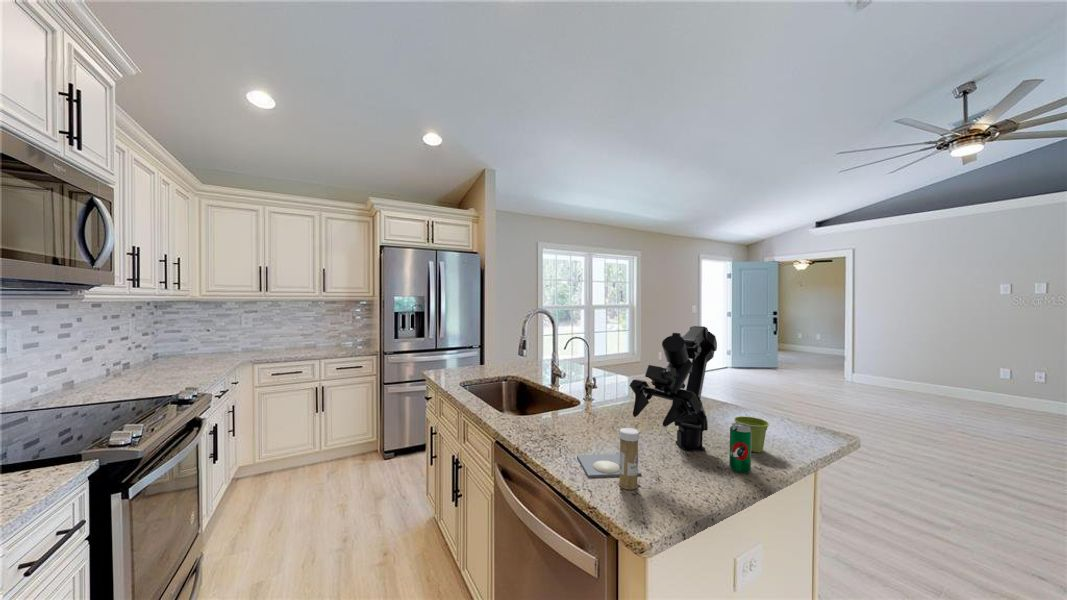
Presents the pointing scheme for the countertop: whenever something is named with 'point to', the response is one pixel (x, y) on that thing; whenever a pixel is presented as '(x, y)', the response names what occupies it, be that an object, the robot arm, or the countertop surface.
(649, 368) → the robot arm
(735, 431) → the soda can
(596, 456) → the board
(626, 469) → the sprinkles bottle
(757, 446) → the plant pot
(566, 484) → the countertop surface
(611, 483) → the countertop surface
